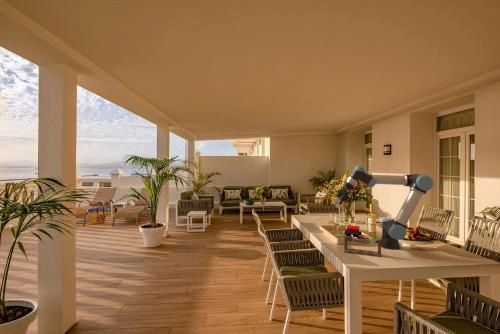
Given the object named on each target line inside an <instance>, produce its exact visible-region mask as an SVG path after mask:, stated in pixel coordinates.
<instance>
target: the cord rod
mask: <svg viewBox="0 0 500 334" xmlns="http://www.w3.org/2000/svg"><path fill="white" fill-rule="evenodd" d="M347 240H348V242H350V243H351V242H353V237H352V236H348V238H347ZM355 241H356V242H358V241H359V242H365V243H366V242H367V243H370V239H365V238H364V239H363V238H358V239H357V238H354V242H355ZM375 244H378V240H375Z"/></svg>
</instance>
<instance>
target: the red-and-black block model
mask: <svg viewBox="0 0 500 334" xmlns="http://www.w3.org/2000/svg"><path fill="white" fill-rule="evenodd" d="M362 233H363V232H362V230H360V225H353V224H348V225H347V227H346V229H344V235H345V234H346V235H345V236H351V234H353V237H357V238H358V236H359V235H361V236H362ZM353 237H352V238H353ZM359 237H360V236H359ZM358 239H359V238H358Z"/></svg>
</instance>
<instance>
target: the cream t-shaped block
mask: <svg viewBox="0 0 500 334" xmlns="http://www.w3.org/2000/svg"><path fill="white" fill-rule="evenodd" d="M369 240H370V242H368V243H369V245H371V246H372V245H373V246H376V243H375V241H376V238H375V237H374V230H371V237H369Z"/></svg>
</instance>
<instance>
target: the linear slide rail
mask: <svg viewBox="0 0 500 334" xmlns="http://www.w3.org/2000/svg"><path fill="white" fill-rule="evenodd" d="M347 238H348V236H346V235H344V240H343V241H344V243H343V244H344V248H343V249H344V250H343V253H346V254H353V255H362V256H370V257H377V258H382V247H381V239H379V238H378V240H377V241H378V243H377V247H378V248H377V251H375V250H370V249H369V250H367V249H360V248H352V247H348V242H349V241H348V240H347Z"/></svg>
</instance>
